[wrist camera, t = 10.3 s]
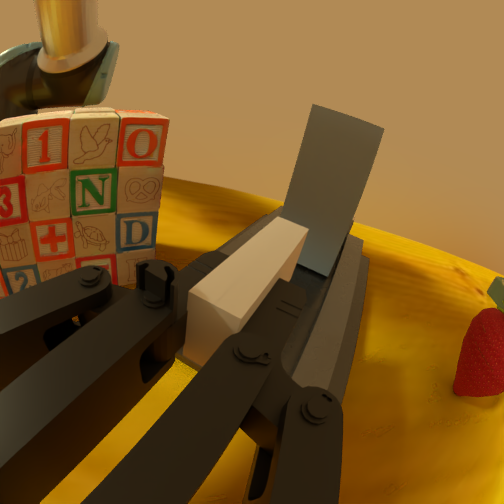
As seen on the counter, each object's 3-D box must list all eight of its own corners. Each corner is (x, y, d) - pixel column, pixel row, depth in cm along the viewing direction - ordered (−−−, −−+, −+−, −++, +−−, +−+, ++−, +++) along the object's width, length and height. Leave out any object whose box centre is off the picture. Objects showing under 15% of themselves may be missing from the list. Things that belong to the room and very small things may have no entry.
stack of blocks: (-66, 315, 8) (-110, 164, 2) (-50, 268, 12) (-74, 140, 6) (156, 281, 20) (172, 115, 14) (138, 240, 24) (150, 107, 18)
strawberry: (466, 364, 18) (527, 282, 13) (482, 427, 12) (566, 340, 7) (426, 354, 19) (491, 260, 14) (439, 425, 12) (538, 325, 7)
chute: (126, 322, 16) (121, 265, 13) (264, 218, 35) (274, 184, 32) (328, 434, 12) (372, 396, 10) (367, 262, 31) (382, 229, 29)
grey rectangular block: (269, 250, 26) (312, 103, 19) (286, 233, 30) (323, 110, 23) (327, 276, 24) (384, 128, 17) (336, 255, 29) (382, 131, 21)
